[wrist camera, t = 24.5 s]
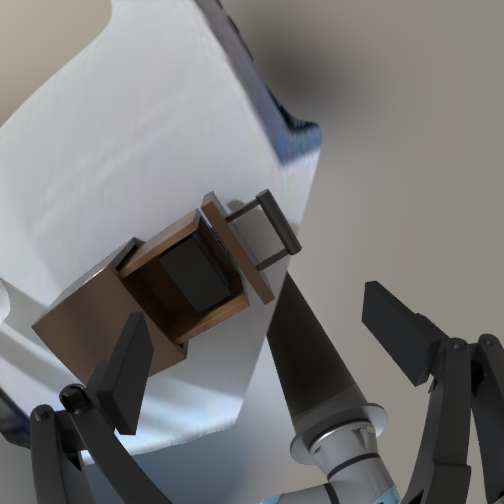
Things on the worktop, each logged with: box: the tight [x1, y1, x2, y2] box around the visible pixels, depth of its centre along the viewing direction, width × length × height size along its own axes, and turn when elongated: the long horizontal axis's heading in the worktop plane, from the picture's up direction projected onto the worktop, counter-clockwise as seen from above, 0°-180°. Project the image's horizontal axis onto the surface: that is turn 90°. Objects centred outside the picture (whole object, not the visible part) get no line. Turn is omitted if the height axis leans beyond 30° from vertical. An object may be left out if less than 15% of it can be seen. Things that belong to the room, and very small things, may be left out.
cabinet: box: [31, 237, 188, 386], centre depth 31 cm, size 15×13×10 cm
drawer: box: [115, 189, 302, 345], centre depth 30 cm, size 18×11×8 cm, turn 121°
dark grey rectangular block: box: [158, 228, 232, 313], centre depth 31 cm, size 4×7×5 cm, turn 30°
